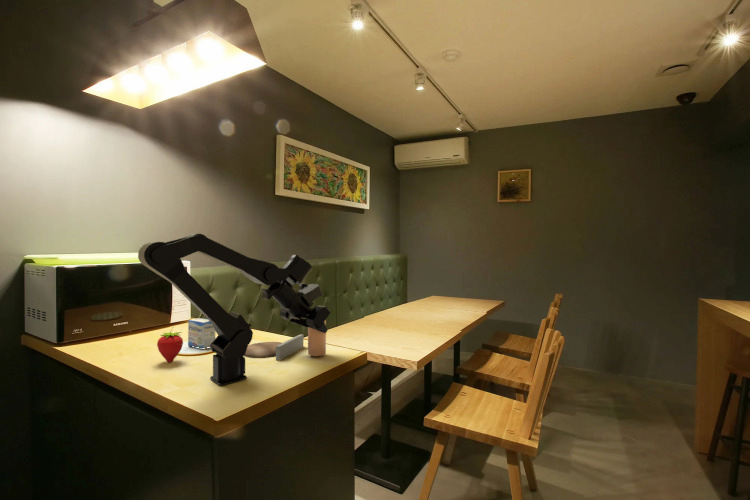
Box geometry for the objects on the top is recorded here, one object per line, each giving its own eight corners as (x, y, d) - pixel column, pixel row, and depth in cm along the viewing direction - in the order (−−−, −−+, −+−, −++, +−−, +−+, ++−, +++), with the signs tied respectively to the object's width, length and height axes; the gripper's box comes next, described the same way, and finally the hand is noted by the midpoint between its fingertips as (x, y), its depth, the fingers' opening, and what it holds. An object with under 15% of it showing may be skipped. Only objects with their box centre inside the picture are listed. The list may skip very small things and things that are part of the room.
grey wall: (279, 360, 100) (279, 346, 99) (275, 360, 100) (275, 346, 100) (303, 346, 113) (303, 334, 113) (300, 346, 113) (300, 334, 113)
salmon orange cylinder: (315, 357, 100) (315, 318, 100) (304, 353, 104) (304, 316, 104) (329, 353, 104) (329, 316, 104) (318, 349, 107) (318, 313, 107)
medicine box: (187, 346, 113) (187, 320, 113) (200, 343, 117) (199, 317, 117) (203, 350, 110) (203, 322, 110) (215, 346, 114) (215, 319, 114)
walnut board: (254, 361, 99) (254, 358, 99) (233, 350, 109) (233, 348, 109) (297, 350, 109) (297, 347, 109) (273, 341, 119) (273, 339, 119)
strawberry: (173, 357, 102) (173, 323, 102) (188, 361, 99) (188, 326, 98) (152, 363, 97) (151, 327, 97) (166, 368, 94) (166, 330, 93)
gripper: (324, 277, 94) (355, 313, 102) (288, 273, 107) (318, 305, 115) (299, 310, 89) (334, 345, 96) (264, 301, 102) (297, 333, 110)
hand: (320, 330), depth 105 cm, fingers closed on salmon orange cylinder, 5 cm apart
